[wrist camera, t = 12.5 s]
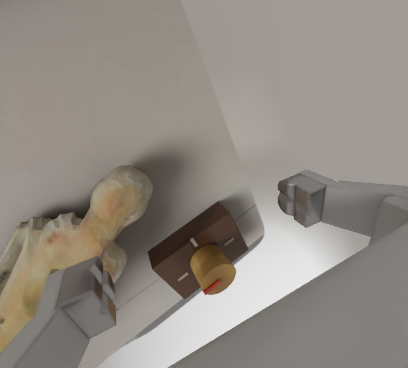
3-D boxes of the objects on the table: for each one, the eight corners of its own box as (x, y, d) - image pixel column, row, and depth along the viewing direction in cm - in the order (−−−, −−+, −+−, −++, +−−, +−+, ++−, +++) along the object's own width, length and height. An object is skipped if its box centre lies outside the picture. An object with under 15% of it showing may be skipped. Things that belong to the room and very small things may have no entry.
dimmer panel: (217, 199, 27) (229, 211, 24) (238, 238, 32) (250, 251, 29) (145, 250, 25) (150, 269, 23) (179, 283, 30) (186, 301, 27)
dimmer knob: (214, 237, 25) (230, 259, 22) (225, 257, 27) (242, 279, 24) (184, 259, 24) (196, 284, 21) (199, 278, 27) (211, 303, 24)
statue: (43, 403, 24) (168, 181, 24) (-7, 506, 17) (171, 190, 17) (-56, 381, 22) (82, 134, 21) (-163, 489, 15) (42, 122, 14)
